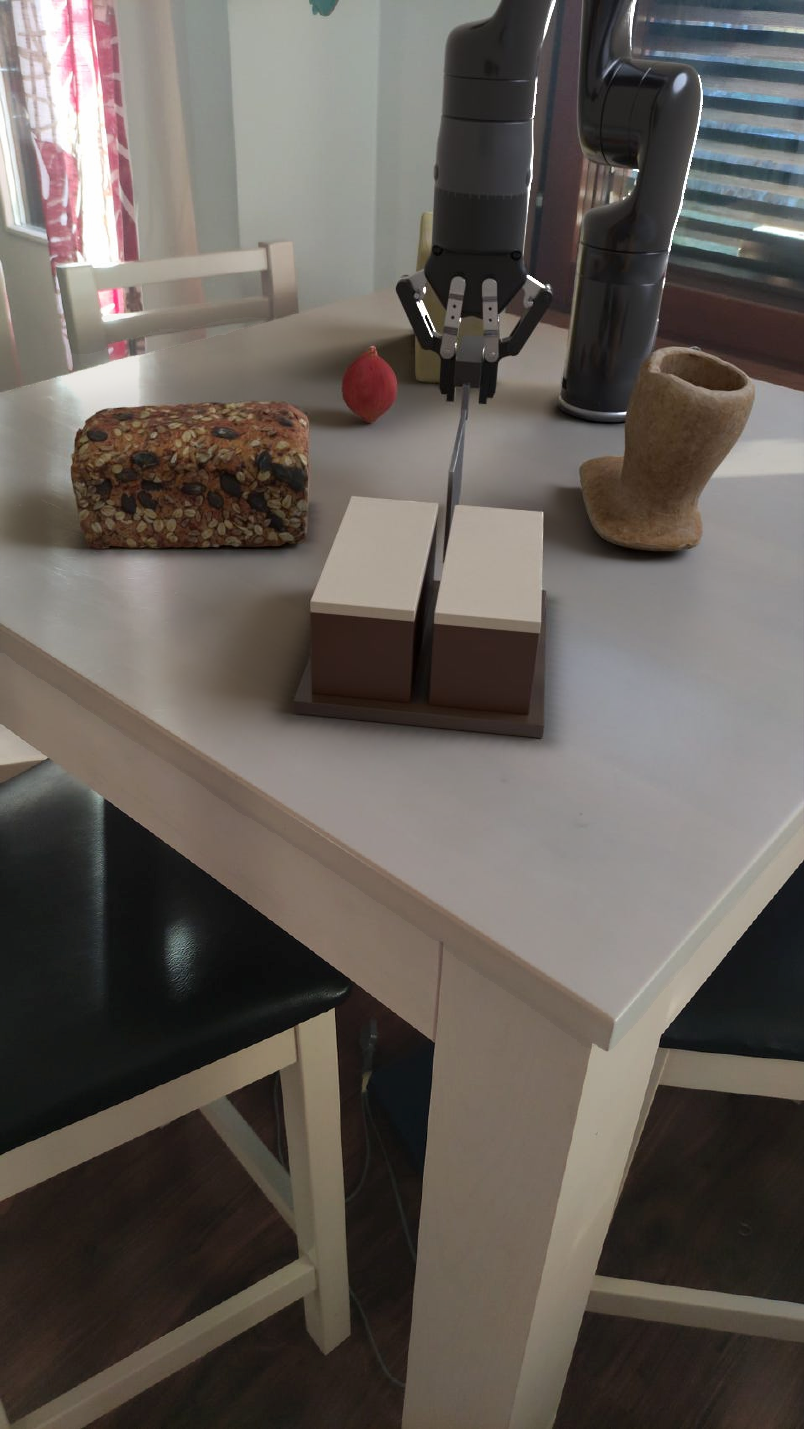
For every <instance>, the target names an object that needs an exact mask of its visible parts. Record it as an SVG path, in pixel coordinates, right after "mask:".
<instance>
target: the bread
mask: <svg viewBox="0 0 804 1429" xmlns="http://www.w3.org/2000/svg"><path fill="white" fill-rule="evenodd" d="M73 446H74V447H73V448H74V449H73V452H72V453H71V455H70V456H71V462H72V463H71V465H70V479H71V484H72V492H73V494H74V497H75V504H76V510H77V515H78V518H79V523H80V524H79V525H80V529H81V530H82V533H83V535H84V538H85V540H86V543H87V546H88V547H92V548H93V549H97V550H98V549H99V550H100V549H109V547H110V546H111V547H112V546H113V547H122V548H130V549H138V548H139V549H140V548H145V547H148V548H151V549H166V548H172V547H173V548H201V549H203V548H210V547H212V548H220V547H221V546H233V547H236V548H237V547H239V548H241V547H246V548H247V547H248V548H249V547H250V548H251V547H252V548H260V547H261V548H262V547H268V546H271V547H281V546H282V545H285V544H286V543H289V544H293V545H298V544H301V543H302V542H305V541H306V540H307V533H308V517H309V503H310V470H311V469H310V456H309V455H310V420H309V418H308V412H307V411H305V410H304V409H303V408H301V406H297V405H294V404H289V403H287V402H285V401H276V400H275V401H274V400H272V401H257V400H249V401H239V402H229V403H225V402H218V401H207V402H200V403H189V402H187V403H186V404H183V403H180V404H177V405H165V404H161V405H159V404H158V405H141V406H121V407H110V408H109V407H107V408H104V409H103V408H102V409H101V410H98V411H96V412H95V413H93V415H91V416H90V417H88V418H86V420H85V421H84V426H83V428H79V427H78V429H77V431H76V432H75V438H74V444H73Z"/></svg>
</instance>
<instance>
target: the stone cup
mask: <svg viewBox="0 0 804 1429" xmlns="http://www.w3.org/2000/svg"><path fill="white" fill-rule="evenodd" d="M690 348H691V347H684V346H683V347H682V346H667V347H662V348H659V349H657V350H654V352H653V353H651V354H650V355H649V356H648V357H647V358H646V359H645V360H644V361H643V363H642V364H641V366H640V368H639V371H638V374H637V377H636V380H635V384H634V387H633V390H632V394H631V397H630V401H629V404H628V408H627V412H626V419H625V421H624V452H623V455H605V456H599V457H594V458H590V459H588V460H585V461H583V462H582V463H581V465H580V466H579V469H578V473H579V483H580V488H581V491H582V492H581V493H582V495H583V496H582V497H583V503H584V507H585V509H586V513H587V516H588V518H589V521H590V523H591V526H592V527H593V528H592V529H594V530H595V532H596V534H598V535H599V537H600V538H602V539H603V540H605V541H606V542H609V543H611V544H614V545H615V546H620V547H624V548H627V549H628V548H629V549H634V550H640V551H648V552H649V551H651V552H678V551H682V550H691V549H693V548H696V547H697V546H698V545H700V542H701V541H702V537H703V520H702V515H701V512H700V509H699V507H698V503H699V500H700V496H701V495H702V493H703V491H704V489H705V488H706V487H707V484H708V482H709V481H710V479H711V478H712V477H713V475H714V474H715V472H716V471H717V469H718V468H719V467H720V466H721V464H722V463H723V462H724V460H725V459H726V458H727V456H728V455H729V453H730V452H731V451H732V449H733V448H734V446H735V445H736V443H737V442H738V440H739V439H740V438H741V436H742V434H743V432H744V430H745V427H746V425H747V423H748V421H749V418H750V416H751V413H752V410H753V406H754V402H755V400H756V399H755V398H756V389H755V384H754V382H753V381H752V380H751V378H750V377H749V375H747V374H746V373H745V372H744V371H743V370H742V369H740V368H739V367H738V366H736V365H735V364H732V363H730V362H729V361H725V360H722V359H721V358H719V357H718V356H716V355H713V354H710V353H707V352H704V351H702V350H701V351H702V352H701V351H698V350H694V349H690Z"/></svg>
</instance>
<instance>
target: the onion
mask: <svg viewBox="0 0 804 1429" xmlns="http://www.w3.org/2000/svg"><path fill="white" fill-rule="evenodd" d="M377 351H378V350H377V348H376V346H375V345H370V346H368V348H367V349H366V350H365V351H363V353H362V354H360V355H359V356H357V358H355V359H354V360H353V361H352V362H351V363H350V364H349V365H348V366H347V368H346V369H345V371H344V374H343V376H342V380H341V395H342V400H343V401H344V403H345V405H346V407H348V409H349V410H350V411H352V412H353V413H354V414H355V415H356V416H357V417H359V418H360V419H361V420H363V421H364V422H365V423H367V424H368V423H369V424H373V423H375V422H376V421H377V420H378V419H379V418H380V417H381V416H383V415H384V414H386V413H387V411H389V410H390V409H391V408H392V407H393V405H394V403H395V402H396V400H397V394H398V389H399V388H398V379H397V376H396V373H395V372H394V369H392V367H391V365H389V363H388V362H387V361H386V359H383V358H382V357H381V356H379V355H378V352H377Z"/></svg>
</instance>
